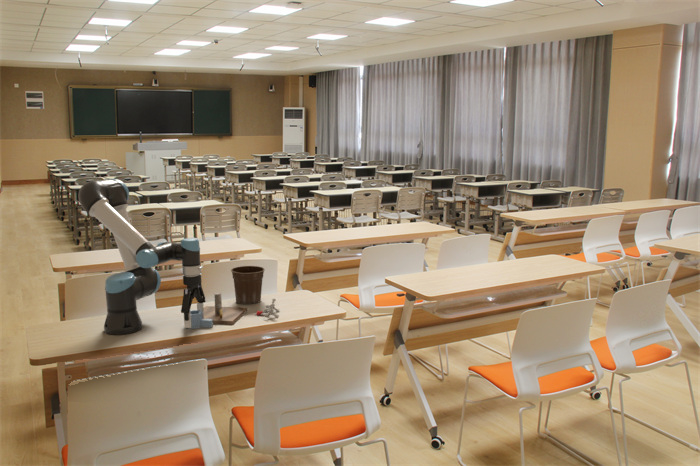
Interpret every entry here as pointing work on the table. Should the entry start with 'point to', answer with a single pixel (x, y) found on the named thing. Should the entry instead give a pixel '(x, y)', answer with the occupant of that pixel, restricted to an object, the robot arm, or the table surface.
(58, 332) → the table surface
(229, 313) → the post base
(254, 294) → the plant pot
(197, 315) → the flange collar
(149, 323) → the table surface
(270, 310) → the molecular model
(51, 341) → the table surface
